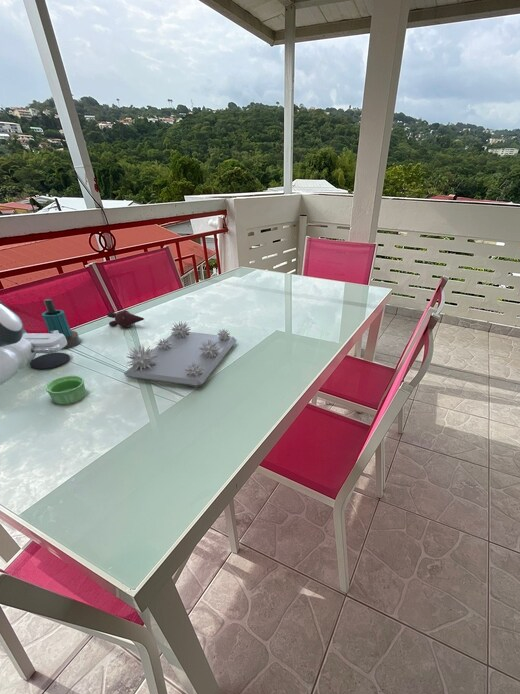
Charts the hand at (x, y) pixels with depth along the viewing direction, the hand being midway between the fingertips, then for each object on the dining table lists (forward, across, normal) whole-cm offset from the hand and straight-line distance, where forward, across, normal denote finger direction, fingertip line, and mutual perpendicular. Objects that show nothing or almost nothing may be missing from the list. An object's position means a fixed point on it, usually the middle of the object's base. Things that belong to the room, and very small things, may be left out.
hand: (40, 332), depth 107 cm
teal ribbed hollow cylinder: (+10, 0, +6) cm, 11 cm away
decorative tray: (-3, -45, +9) cm, 46 cm away
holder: (+10, 0, +9) cm, 13 cm away
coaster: (-4, -2, +9) cm, 10 cm away
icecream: (+26, -17, +9) cm, 32 cm away
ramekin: (-25, -17, +9) cm, 32 cm away
